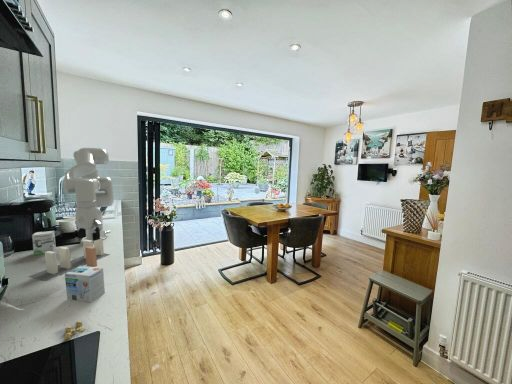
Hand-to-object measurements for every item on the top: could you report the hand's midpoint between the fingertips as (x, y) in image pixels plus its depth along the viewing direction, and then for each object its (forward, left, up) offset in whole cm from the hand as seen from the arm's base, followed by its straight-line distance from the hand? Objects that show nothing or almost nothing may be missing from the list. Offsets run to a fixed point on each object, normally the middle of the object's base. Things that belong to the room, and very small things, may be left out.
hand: (89, 238), depth 106 cm
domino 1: (+11, -10, -14) cm, 21 cm away
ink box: (-3, -42, -15) cm, 45 cm away
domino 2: (+5, -10, -14) cm, 18 cm away
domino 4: (-11, -10, -14) cm, 21 cm away
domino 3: (-6, -10, -14) cm, 18 cm away
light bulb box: (+18, +23, -15) cm, 32 cm away
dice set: (+32, +38, -15) cm, 52 cm away
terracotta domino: (0, 0, -15) cm, 15 cm away
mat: (+2, -10, -15) cm, 18 cm away
